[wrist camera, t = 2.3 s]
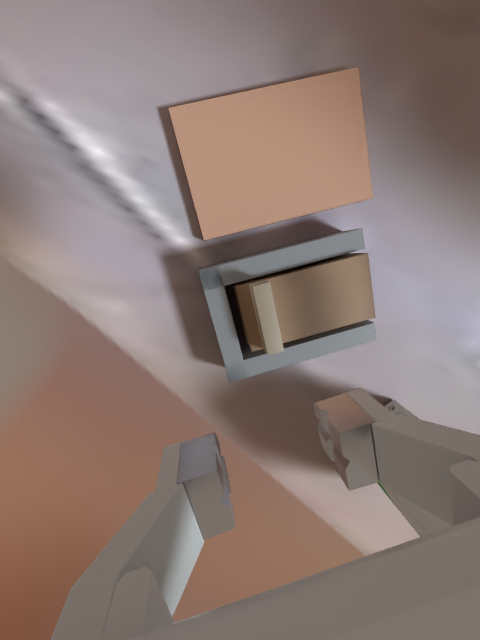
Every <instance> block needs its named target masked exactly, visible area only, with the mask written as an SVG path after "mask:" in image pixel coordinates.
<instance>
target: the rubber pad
mask: <svg viewBox="0 0 480 640" xmlns="http://www.w3.org/2000/svg"><path fill="white" fill-rule="evenodd" d="M168 109H169V113H170V117H171V121H172V125H173V128H174V132H175V136H176V139H177V143H178V147H179V150H180V154H181V158H182V162H183V165H184V169H185V173H186V176H187V180H188V184H189V187H190V191H191V195H192V199H193V202H194V206H195V210H196V213H197V217H198V221H199V225H200V228H201V232H202V236H203V239H204V241H205V240H209V239H213V238H217V237H221V236H225V235H229V234H233V233H237V232H241V231H245V230H249V229H253V228H257V227H260V226H264V225H268V224H272V223H276V222H280V221H284V220H288V219H292V218H296V217H300V216H304V215H308V214H312V213H316V212H320V211H324V210H328V209H332V208H336V207H340V206H344V205H348V204H352V203H355V202H359V201H363V200H367V199H370V198H373V193H372V184H371V175H370V166H369V157H368V149H367V140H366V131H365V122H364V113H363V104H362V95H361V86H360V77H359V68H358V67H356V68H351V69H346V70H342V71H337V72H332V73H328V74H323V75H318V76H314V77H309V78H305V79H300V80H295V81H291V82H286V83H281V84H277V85H272V86H268V87H263V88H258V89H254V90H249V91H244V92H240V93H235V94H230V95H226V96H221V97H217V98H212V99H207V100H203V101H198V102H193V103H189V104H184V105H179V106H175V107H170V108H168Z"/></svg>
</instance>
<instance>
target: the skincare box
mask: <svg viewBox="0 0 480 640" xmlns="http://www.w3.org/2000/svg"><path fill="white" fill-rule="evenodd" d="M384 407H385V408H386V409H388V410H389V411H390V412H391V413H392V414H394V415H395V416H397V415H404V416H408V417H412V418H416V419H419V418H417V417H416V416H415V415H413V414H412V413H411V412H409V411H408V410H407V409H405V408H404V407H403V406H401V405H400V404H399V403H398V402H396V401H395V400H393V401H391V402H389V403H388V404H386V405H385V406H384ZM377 483H378V484H379V486H380V487H381V488H382V490H383V491H384V492H385V493H386V495H387V496H388V497H389V498H390V500H391V501H392V502H393V503H394V505H395V506H396V507H397V508H398V510H399V511H400V512H401V513H402V515H403V516H404V517H405V518H406V520H407V521H408V522H409V523H410V525H411V526H412V527H413V528H414V530H415V531H416V532H417V534H418V535H419V536H420V537H423V536H425V535H428V534H431V533H434V532H437V531H440V530H443V529H446V528H448V527H451V526H452V525H450V524H448V523H446V522H445V521H443V520H441V519H440V518H438V517H436V516H435V515H433V514H431V513H429V512H428V511H426V510H424V509H423V508H421V507H419V506H418V505H416V504H414V503H412V502H411V501H409V500H407V499H406V498H404V497H402V496H401V495H399V494H397V493H395V492H394V491H392V490H390V489H389V488H387V487H385V486H384V485H382V484H380V482H377Z"/></svg>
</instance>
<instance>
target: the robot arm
mask: <svg viewBox="0 0 480 640" xmlns="http://www.w3.org/2000/svg"><path fill="white" fill-rule="evenodd" d="M313 409H314V415H315V416H316V418H317V419H318V421H319V422H320V423H319V425H318V427H317V429H318V434H319V438H320V441H321V443H322V446H323V448H324V450H325V453H326V454H327V456H328V458H329V459H330V460H331V461H333V462H335V464H336V469H337V472H338V474H339V475H340V477H341V478H342V480H343V482H344V483H345V485H346V486H347V488H348V490H349V491H350V490H353V489H357V488H360V487H364V486H367V485H370V484H374V483H377V482H380V484H382V485H384V486H385V487H387V488H389V489H390V490H392V491H394V492H395V493H397V494H399V495H401V496H402V497H404V498H406V499H407V500H409V501H411V502H412V503H414V504H416V505H418V506H419V507H421V508H423V509H424V510H426V511H428V512H429V513H431V514H433V515H435V516H436V517H438V518H440V519H441V520H443V521H445V522H446V523H448V524H450V525H452V526H451V527H448V528H446V529H443V530H440V531H437V532H434V533H431V534H428V535H425V536H423V537H420V538H417V539H414V540H411V541H408V542H405V543H402V544H400V545H397V546H394V547H391V548H388V549H385V550H382V551H380V552H377V553H374V554H371V555H368V556H365V557H362V558H360V559H357V560H354V561H351V562H348V563H345V564H342V565H340V566H336V567H334V568H331V569H328V570H325V571H322V572H319V573H316V574H313V575H311V576H308V577H305V578H302V579H299V580H296V581H293V582H290V583H288V584H285V585H282V586H279V587H276V588H273V589H271V590H267V591H265V592H262V593H259V594H256V595H253V596H250V597H248V598H245V599H242V600H239V601H236V602H233V603H230V604H227V605H224V606H222V607H219V608H216V609H213V610H210V611H207V612H205V613H201V614H199V615H196V616H193V617H190V618H187V619H184V620H181V621H179V622H176V623H175V622H174V620H173V617H172V616H173V614H174V612H175V609H176V607H177V604H178V602H179V600H180V597H181V595H182V593H183V591H184V588H185V586H186V584H187V581H188V579H189V576H190V574H191V572H192V569H193V567H194V565H195V562H196V560H197V558H198V555H199V553H200V551H201V548H202V546H203V543H204V539H207V538H210V537H212V536H215V535H218V534H221V533H223V532H226V531H229V530H232V529H234V528H236V527H235V519H234V510H233V504H232V501H231V498H230V492H231V487H230V480H229V475H228V471H227V467H226V463H225V460H224V457H223V456H221V453H220V444H219V441H218V438H217V435H216V433H211V434H208V435H204V436H201V437H197V438H193V439H190V440H186V441H183V442H179V443H176V444H173V445H169V446H166V447H165V449H164V450H163V455H162V460H161V465H160V470H159V475H158V480H157V485H156V491H155V492H151V493H150V494H149V495H148V496H147V497H146V498H145V500H144V501H143V502H142V503H141V505H140V506H139V507H138V508H137V509H136V510H135V512H134V513H133V514H132V515H131V517H130V518H129V519H128V520H127V521H126V523H125V524H124V525H123V526H122V528H121V529H120V530H119V531H118V532H117V533H116V535H115V536H114V537H113V538H112V540H111V541H110V542H109V543H108V544H107V546H106V547H105V548H104V549H103V550H102V552H101V553H100V554H99V555H98V556H97V558H96V559H95V560H94V561H93V562H92V564H91V565H90V566H89V567H88V569H87V570H86V571H85V572H84V573H83V575H82V576H81V577H80V578H79V579H78V581H77V582H76V583H75V585H73V587H72V588H71V590H70V592H69V595H68V597H67V600H66V602H65V605H64V607H63V610H62V612H61V615H60V617H59V620H58V623H57V625H56V628H55V630H54V633H53V635H52V638H51V640H480V435H477V434H473V433H469V432H465V431H462V430H458V429H454V428H450V427H446V426H442V425H439V424H435V423H431V422H427V421H423V420H420V419H416V418H412V417H408V416H404V415H397V416H395V415H394V414H392V413H391V412H390V411H389V410H388V409H386V408H385V407H384V406H383V405H382V404H380V403H379V402H378V401H377V400H375V399H374V398H373V397H372V396H371V395H369V394H368V393H367V392H366V391H365V390H363V389H362V388H357V389H354V390H351V391H348V392H345V393H344V394H340V395H337V396H334V397H331V398H328V399H325V400H322V401H319V402H315V403H313Z"/></svg>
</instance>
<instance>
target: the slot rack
mask: <svg viewBox="0 0 480 640" xmlns="http://www.w3.org/2000/svg"><path fill="white" fill-rule="evenodd" d="M361 249H365V245H364V237H363V229H362V228H361V229H354V230H348V231H342V232H338V233H334V234H330V235H326V236H323V237H319V238H315V239H311V240H307V241H303V242H299V243H296V244H292V245H288V246H284V247H280V248H276V249H272V250H269V251H265V252H261V253H257V254H253V255H249V256H245V257H242V258H238V259H234V260H230V261H226V262H222V263H219V264H215V265H211V266H207V267H203V268H199V270H198V272H199V275H200V279H201V282H202V286H203V289H204V293H205V296H206V300H207V303H208V307H209V310H210V314H211V317H212V321H213V325H214V328H215V332H216V335H217V339H218V342H219V346H220V349H221V353H222V356H223V360H224V363H225V367H226V371H227V374H228V378H229V381H230V382H233V381H237V380H240V379H244V378H247V377H251V376H254V375H257V374H261V373H264V372H268V371H271V370H275V369H278V368H281V367H285V366H288V365H292V364H295V363H299V362H302V361H305V360H309V359H312V358H316V357H319V356H323V355H326V354H329V353H333V352H336V351H340V350H343V349H347V348H350V347H353V346H357V345H360V344H364V343H367V342H371V341H374V340H376V334H375V326H374V323H373V322H371V321H368V320H365V321H361V322H357V323H354V324H350V325H347V326H343V327H340V328H336V329H332V330H329V331H325V332H322V333H318V334H314V335H311V336H307V337H304V338H300V339H297V340H293V341H289V342H286V343H283V347H284V351H283V352H280V353H276V354H272V355H269V356H268V355H267V353H266V352H265V350H264V349H261V350H257V351H253V352H252V351H251V349H250V347H249V345H247V346H243V347H240V345H239V341H238V337H237V333H236V329H235V325H234V322H233V318H232V314H231V310H230V306H229V303H228V299H227V295H226V291H225V287H224V286H226V285H230V284H234V283H237V282H241V281H245V280H249V279H252V278H256V277H260V276H264V275H267V274H271V273H275V272H279V271H282V270H286V269H290V268H294V267H297V266H301V265H305V264H309V263H313V262H316V261H320V260H324V259H328V258H331V257H335V256H339V255H343V254H346V253H350V252H354V251H358V250H361Z"/></svg>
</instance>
